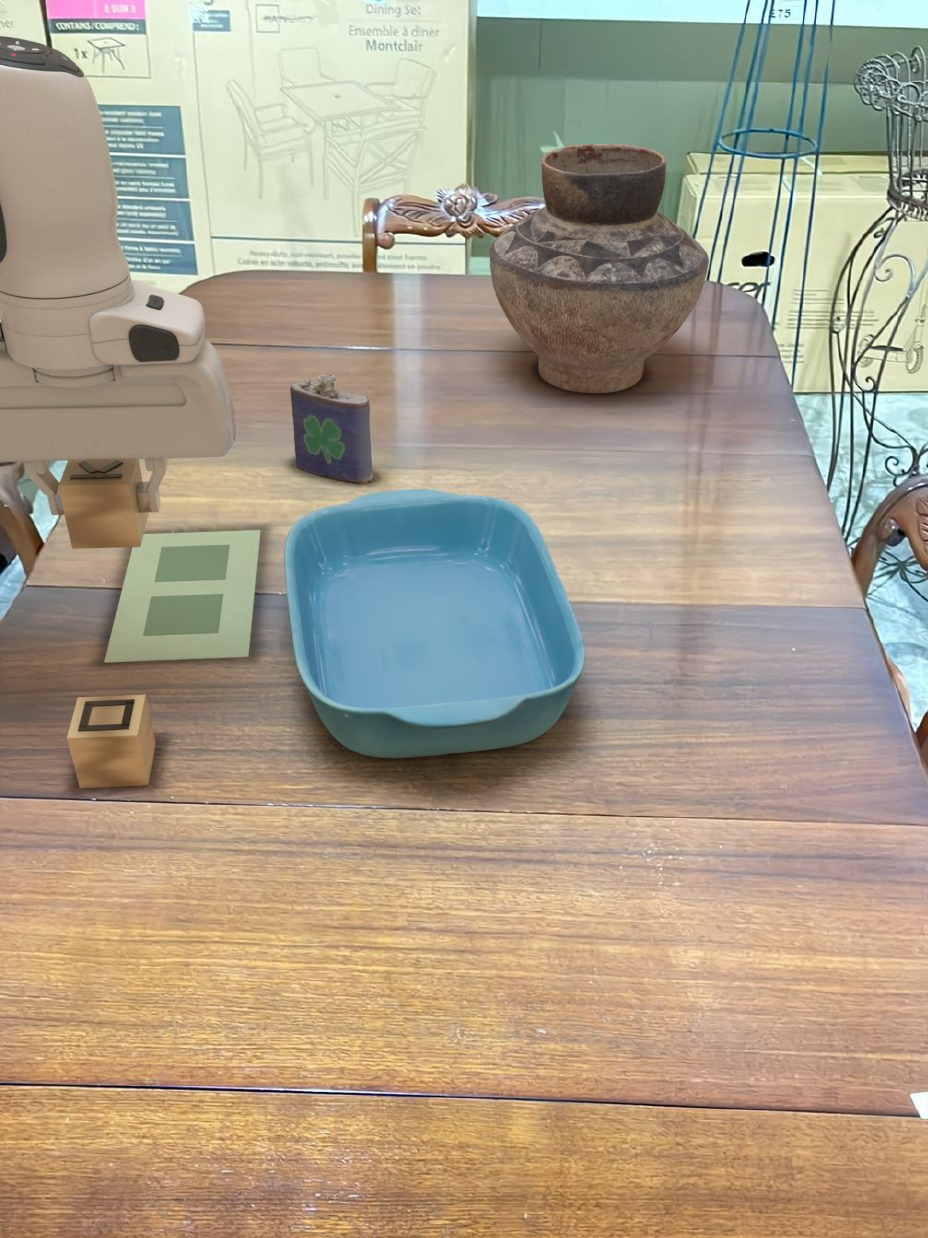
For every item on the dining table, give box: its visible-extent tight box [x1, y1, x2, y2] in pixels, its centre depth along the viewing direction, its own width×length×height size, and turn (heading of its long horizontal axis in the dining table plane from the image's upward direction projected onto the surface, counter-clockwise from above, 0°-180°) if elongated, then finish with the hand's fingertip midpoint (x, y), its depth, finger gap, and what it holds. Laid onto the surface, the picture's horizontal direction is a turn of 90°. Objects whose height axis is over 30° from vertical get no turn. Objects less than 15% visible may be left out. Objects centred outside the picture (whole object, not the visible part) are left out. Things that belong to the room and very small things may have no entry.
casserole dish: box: [283, 488, 586, 759], centre depth 103 cm, size 37×22×7 cm, turn 9°
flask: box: [289, 373, 374, 485], centre depth 128 cm, size 9×3×11 cm, turn 61°
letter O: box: [66, 694, 157, 789], centre depth 93 cm, size 5×5×5 cm
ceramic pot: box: [488, 143, 710, 394], centre depth 144 cm, size 25×25×24 cm
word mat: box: [103, 529, 262, 664], centre depth 113 cm, size 12×22×1 cm, turn 4°
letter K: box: [58, 459, 149, 550], centre depth 93 cm, size 5×5×5 cm
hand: (107, 510), depth 93 cm, fingers closed on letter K, 5 cm apart
